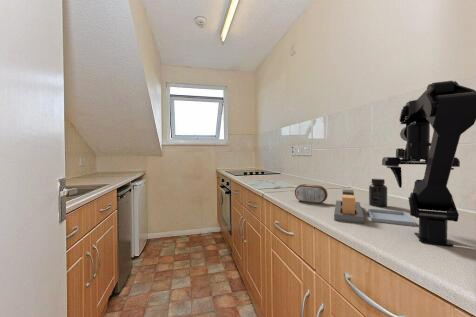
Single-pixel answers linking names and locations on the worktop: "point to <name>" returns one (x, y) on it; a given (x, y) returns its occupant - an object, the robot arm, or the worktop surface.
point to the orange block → (348, 204)
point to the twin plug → (348, 192)
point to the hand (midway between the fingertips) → (417, 188)
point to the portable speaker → (311, 193)
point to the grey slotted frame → (354, 218)
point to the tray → (391, 217)
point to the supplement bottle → (378, 193)
